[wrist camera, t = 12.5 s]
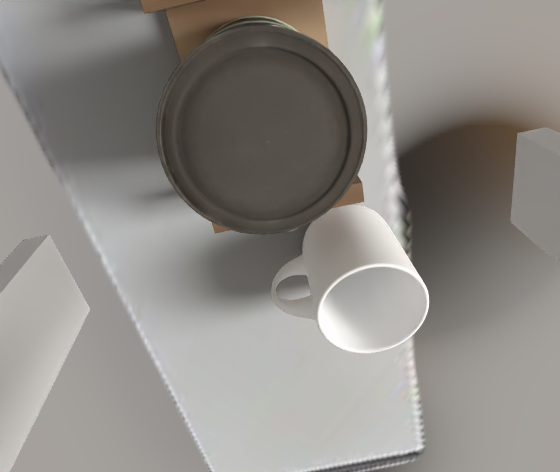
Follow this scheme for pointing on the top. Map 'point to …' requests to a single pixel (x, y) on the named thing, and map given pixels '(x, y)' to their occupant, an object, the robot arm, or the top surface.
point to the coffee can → (261, 127)
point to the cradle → (235, 4)
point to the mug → (356, 282)
